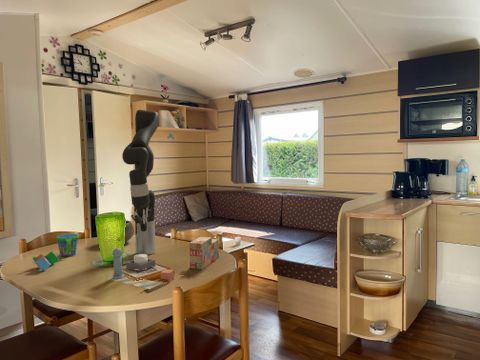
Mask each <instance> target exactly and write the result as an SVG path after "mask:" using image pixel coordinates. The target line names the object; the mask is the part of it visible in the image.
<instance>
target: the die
mask: <svg viewBox="0 0 480 360" xmlns="http://www.w3.org/2000/svg"><path fill="white" fill-rule="evenodd" d="M160 279H161V280H165V281H163V283H171V282H172V281H174V280H175V269H167V268H166V269H163V270H162V271H160Z"/></svg>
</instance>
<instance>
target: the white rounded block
mask: <svg viewBox="0 0 480 360" xmlns="http://www.w3.org/2000/svg"><path fill="white" fill-rule="evenodd" d="M148 255H149V254H148ZM148 255H146V254H138V253H137V254H134V256H133V260H134V263H137V264H143V263H146V262H148V259H149V258H148Z"/></svg>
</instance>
